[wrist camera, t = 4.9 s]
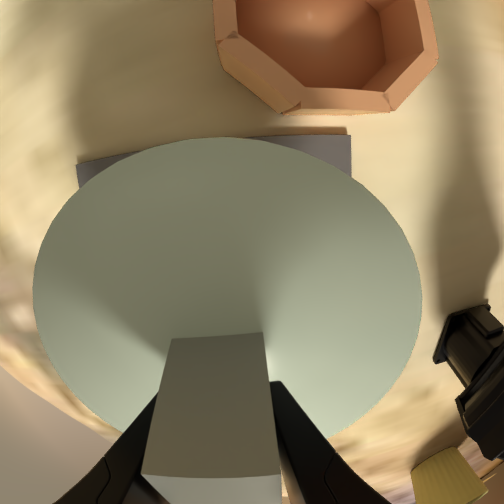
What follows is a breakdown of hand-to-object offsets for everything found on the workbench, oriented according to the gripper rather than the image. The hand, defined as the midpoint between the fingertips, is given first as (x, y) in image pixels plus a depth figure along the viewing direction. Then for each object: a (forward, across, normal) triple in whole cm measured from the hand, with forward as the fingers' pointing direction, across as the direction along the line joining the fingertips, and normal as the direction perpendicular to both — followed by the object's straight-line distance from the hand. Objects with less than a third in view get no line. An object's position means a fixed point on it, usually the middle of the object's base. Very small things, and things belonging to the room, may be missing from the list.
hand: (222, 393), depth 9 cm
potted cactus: (+12, -36, +52) cm, 64 cm away
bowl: (+12, -6, -14) cm, 20 cm away
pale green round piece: (+2, 0, 0) cm, 2 cm away
